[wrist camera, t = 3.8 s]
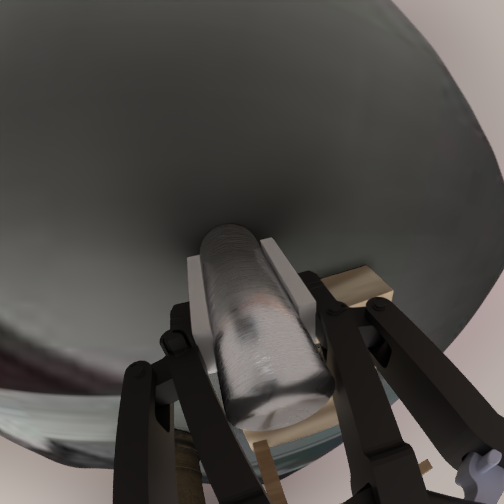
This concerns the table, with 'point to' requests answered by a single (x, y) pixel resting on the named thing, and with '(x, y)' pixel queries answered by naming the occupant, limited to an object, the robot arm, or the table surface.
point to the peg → (258, 337)
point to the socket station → (354, 295)
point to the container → (187, 470)
